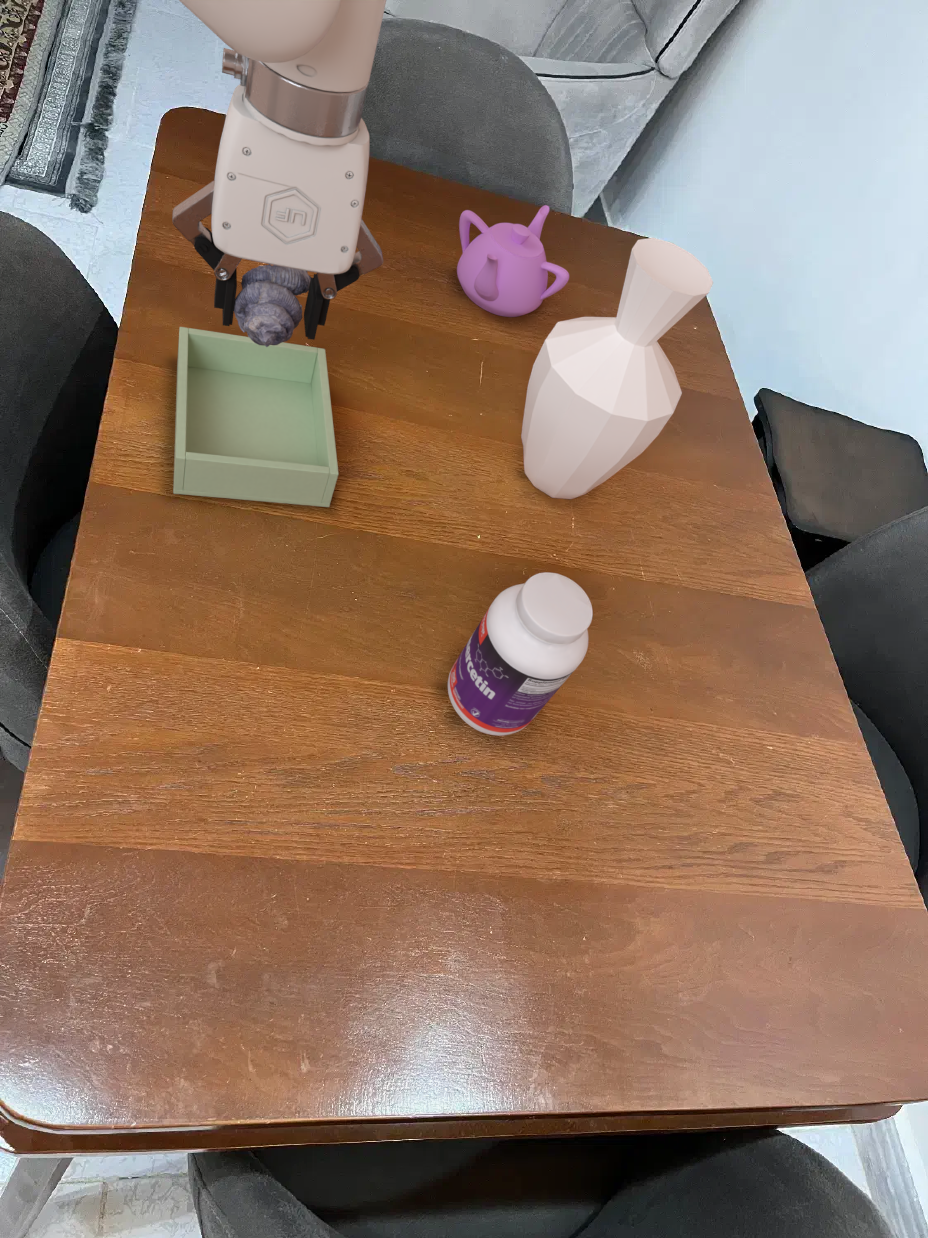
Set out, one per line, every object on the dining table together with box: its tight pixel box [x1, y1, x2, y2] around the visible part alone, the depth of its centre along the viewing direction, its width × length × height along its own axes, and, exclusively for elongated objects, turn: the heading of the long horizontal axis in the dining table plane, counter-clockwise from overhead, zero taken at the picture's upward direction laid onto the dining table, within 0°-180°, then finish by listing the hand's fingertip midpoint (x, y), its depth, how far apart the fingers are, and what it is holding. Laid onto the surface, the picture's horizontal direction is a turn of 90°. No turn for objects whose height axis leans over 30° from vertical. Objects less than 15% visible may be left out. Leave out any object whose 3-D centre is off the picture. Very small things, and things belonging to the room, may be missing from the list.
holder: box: [172, 326, 340, 508], centre depth 77 cm, size 14×17×4 cm
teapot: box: [456, 204, 570, 318], centre depth 102 cm, size 12×14×9 cm
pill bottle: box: [447, 571, 593, 737], centre depth 66 cm, size 8×8×14 cm
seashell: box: [234, 264, 312, 347], centre depth 66 cm, size 5×5×10 cm
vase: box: [520, 237, 714, 500], centre depth 81 cm, size 14×14×25 cm
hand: (268, 319), depth 68 cm, fingers closed on seashell, 5 cm apart
